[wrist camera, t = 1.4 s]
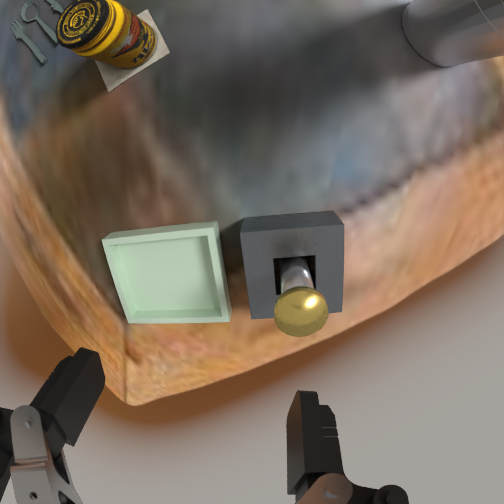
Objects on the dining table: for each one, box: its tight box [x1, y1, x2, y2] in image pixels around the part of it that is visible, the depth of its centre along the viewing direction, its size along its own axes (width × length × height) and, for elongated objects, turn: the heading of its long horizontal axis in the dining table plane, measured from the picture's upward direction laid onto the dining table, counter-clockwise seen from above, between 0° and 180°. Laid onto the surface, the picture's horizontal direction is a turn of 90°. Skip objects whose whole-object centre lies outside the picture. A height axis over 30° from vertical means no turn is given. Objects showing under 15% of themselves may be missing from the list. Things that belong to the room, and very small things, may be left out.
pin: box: [274, 256, 328, 337], centre depth 29 cm, size 4×4×12 cm
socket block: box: [240, 211, 344, 319], centre depth 32 cm, size 10×10×5 cm
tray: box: [102, 221, 232, 323], centre depth 35 cm, size 14×12×2 cm
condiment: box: [55, 0, 170, 92], centre depth 20 cm, size 7×8×12 cm
